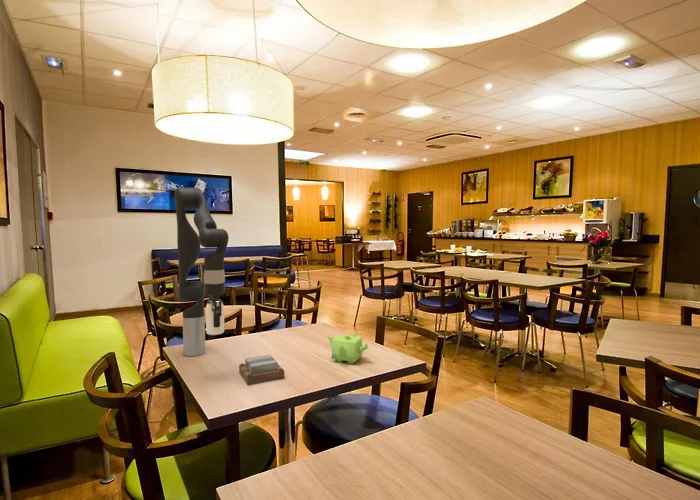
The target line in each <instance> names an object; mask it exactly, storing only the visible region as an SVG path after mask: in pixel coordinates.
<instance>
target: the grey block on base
mask: <svg viewBox="0 0 700 500" xmlns="http://www.w3.org/2000/svg"><path fill="white" fill-rule="evenodd" d="M238 367H239V368H238V371H239V372H238V373H239V374H240V376H241V377H242V379H243V381H244V382H245V384H246V385H247V386H252V385H258V384H262V383H263V384H264V383H267V382H273V381H277V380H283V379H285V370H284V368H282V367H281V365H279V364H278V361H277V360H276V359H275V358H274V357H273V356H272V355H271V354H265V355H264V354H263V355H259V356H252V357H247V358H245V363H240V364H239V365H238Z"/></svg>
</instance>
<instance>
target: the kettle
mask: <svg viewBox="0 0 700 500" xmlns="http://www.w3.org/2000/svg"><path fill="white" fill-rule="evenodd" d="M356 334H357V333H356V332H353V333H352V334H351V335H350V334H339V335H338V336H336V337H335V338H333V336H331V335H325V336H326V338H328V339H329V342H330V347H331V359H332V360H336V363H341V362H342V361H344V362H347V364H349V365H353V364H354V363H356V362H357V361H358V360H359V359H360V358H362V356H363V352H364V351H366V350H367V349H369V345H368V344H367V343H365V344H363V337H361V336H356Z"/></svg>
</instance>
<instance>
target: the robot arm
mask: <svg viewBox="0 0 700 500" xmlns="http://www.w3.org/2000/svg"><path fill="white" fill-rule="evenodd" d="M174 206H175V215H176V224H177V225H176V226H177V227H176V229H177V232H176V234H177V238H176V239H177V241H176V242H177V258H178V260H177V261H178V300H179V301H180V302H182V303H190V302H196V303H195V304H194V305H193V306H191V307H188V308H186V309H184V310H183V311H182V340H183V342H182V343H183V345H182V346H183V347H182V348H183V350H182V351H183V355H184V357H197V356H201V355H203V354H205V353H206V328H205V327H206V316H205V296H208V302H209V303H210V304H211V311H212V312H213V322H214V327H220V316H221V315H222V314H221V303H223V301H222V299H221V298H220V295H224V294H225V293H226V276H225V255H226V254H225V253H226V252H227V251H226V250H227V247H228V244H229V234H228V231H227V230H226V229H224V228H217V227H218V226H217V223H216V222H215V220H214V218H213V217H212V215H211V213H210V210H209V206H208V204H207V201H206V198H205V195H204V193H203V190H202V189H200V188H198V187H177V188H176V189H175V190H174ZM186 210H196V211H195V213H194V215H193V223H194V226H195V227H196V229H197V231H196V230H195V229H194V228H193V226H192V225H191V223H190V221H189V220H188V218H187V214H186ZM201 247H203V248H204V249H205V248H206V249H208V248H209V249H211V248H216V250H215V251H214V252H212V253H208V254H205V256H204V257H203V258H204V259H203V265H204V266H203V267H204V272H203V280H191V281H187V277H188V275H189V273H190V271H191V269H192V268H193V267H194V265H195V263H196V262H197V260H198V259H199V257H200V255H201ZM221 301H222V302H221ZM213 306H214V309H213ZM216 311H218V313H216Z"/></svg>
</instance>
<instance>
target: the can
mask: <svg viewBox="0 0 700 500" xmlns="http://www.w3.org/2000/svg"><path fill="white" fill-rule="evenodd" d="M221 302H222V303H221V314H222V315H221V316H220V327H214V322H213V312H212V311H211V304H210V303H209V301H206V306H205V327H206V328H205V334H207V335H208V336H218V335H222V334H223V333H224V332H225V307H224V303H223V301H222V300H221ZM213 309H214V306H213ZM216 313H218V311H216Z"/></svg>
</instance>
